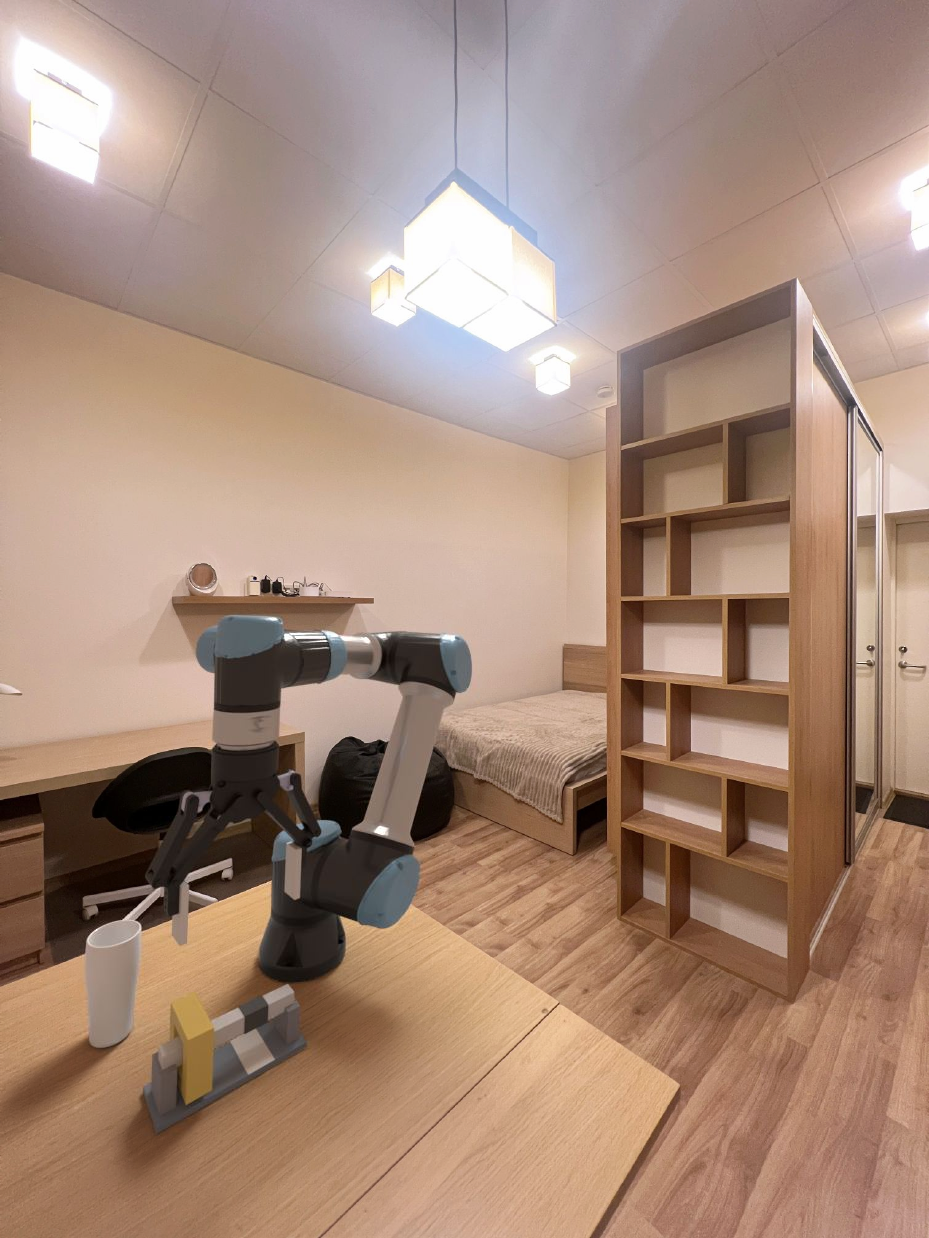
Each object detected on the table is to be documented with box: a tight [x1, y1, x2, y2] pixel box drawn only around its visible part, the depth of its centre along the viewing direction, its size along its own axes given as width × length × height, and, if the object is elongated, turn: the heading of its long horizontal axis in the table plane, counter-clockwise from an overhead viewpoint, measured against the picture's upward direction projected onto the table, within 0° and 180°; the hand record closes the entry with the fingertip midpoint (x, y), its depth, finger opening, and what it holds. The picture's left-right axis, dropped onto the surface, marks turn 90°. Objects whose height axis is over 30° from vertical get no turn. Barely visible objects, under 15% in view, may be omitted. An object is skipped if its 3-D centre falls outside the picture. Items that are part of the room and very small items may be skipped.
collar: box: [169, 991, 215, 1105], centre depth 67 cm, size 8×3×8 cm, turn 43°
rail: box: [142, 983, 308, 1135], centre depth 70 cm, size 7×19×7 cm, turn 133°
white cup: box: [84, 919, 143, 1049], centre depth 75 cm, size 7×7×15 cm
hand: (240, 915), depth 63 cm, fingers open, 13 cm apart
